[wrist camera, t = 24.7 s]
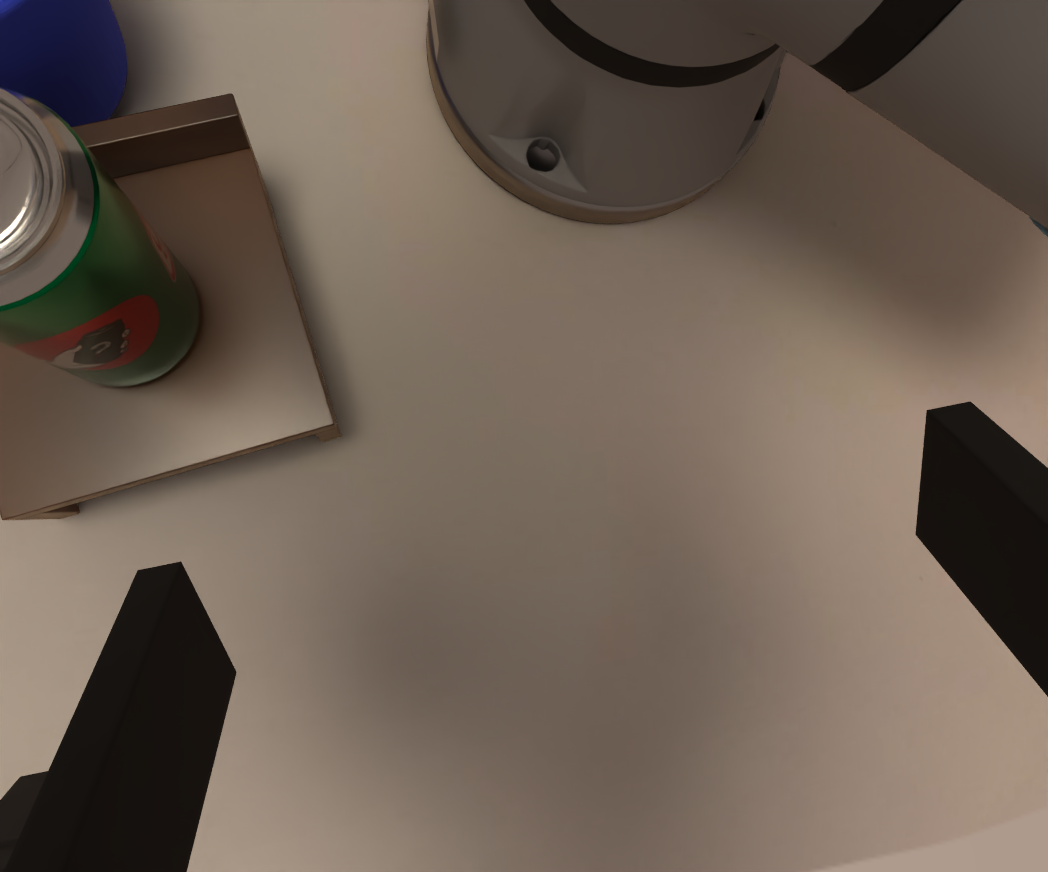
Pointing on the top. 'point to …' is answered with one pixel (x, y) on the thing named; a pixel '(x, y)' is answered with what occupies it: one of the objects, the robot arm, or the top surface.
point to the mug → (64, 56)
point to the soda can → (82, 259)
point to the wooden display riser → (216, 352)
